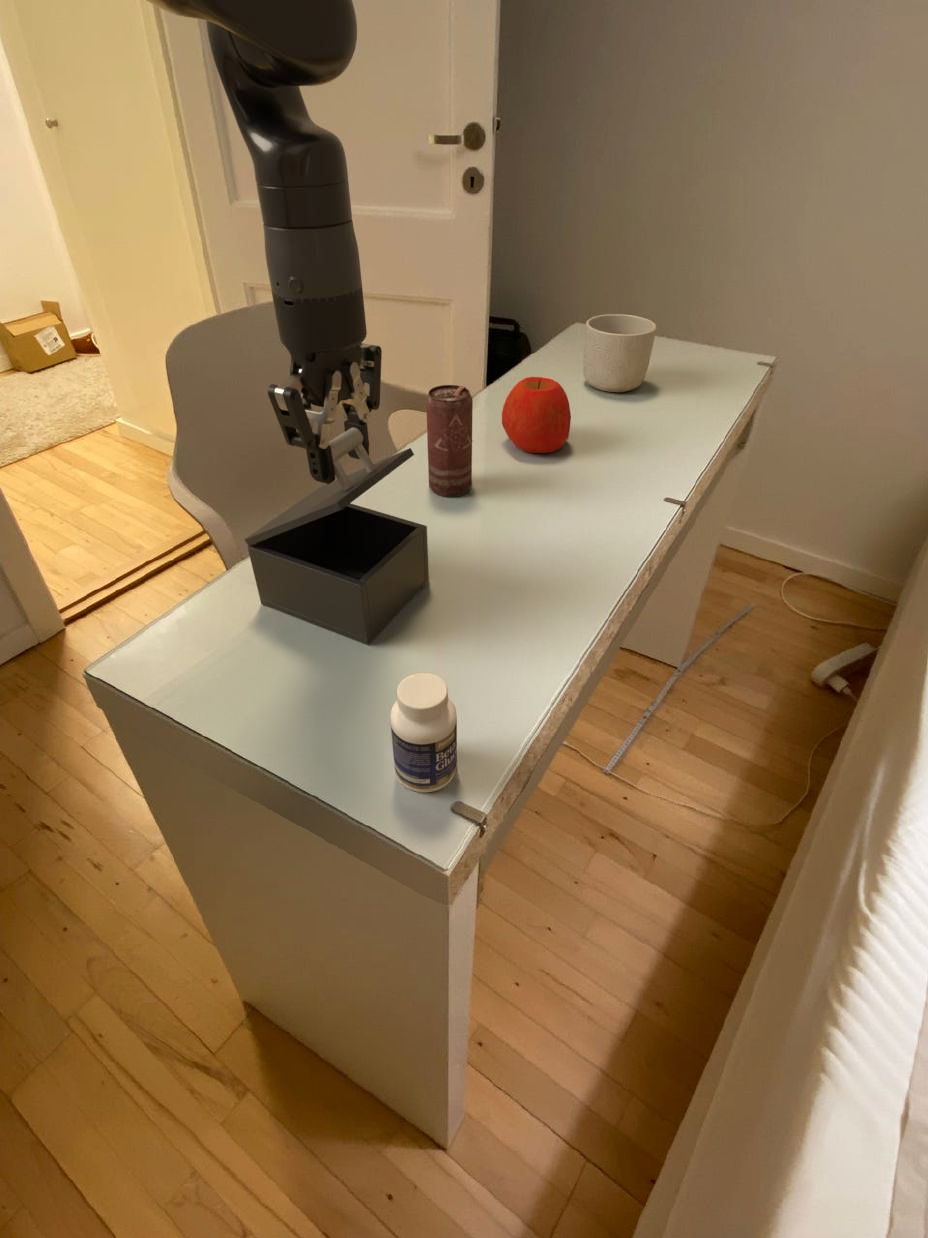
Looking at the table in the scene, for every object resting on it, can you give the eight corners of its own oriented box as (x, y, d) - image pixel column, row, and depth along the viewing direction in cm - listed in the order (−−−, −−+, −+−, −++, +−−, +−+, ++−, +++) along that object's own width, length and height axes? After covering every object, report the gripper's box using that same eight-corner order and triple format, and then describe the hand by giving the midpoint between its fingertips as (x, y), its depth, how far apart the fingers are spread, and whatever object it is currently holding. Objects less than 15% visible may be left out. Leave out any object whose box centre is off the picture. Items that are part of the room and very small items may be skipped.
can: (480, 483, 98) (482, 388, 90) (456, 502, 94) (456, 404, 85) (445, 472, 101) (443, 379, 92) (420, 490, 97) (416, 394, 88)
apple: (487, 442, 109) (488, 376, 102) (536, 424, 114) (540, 360, 108) (533, 466, 103) (538, 397, 96) (583, 446, 108) (591, 379, 101)
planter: (657, 394, 125) (669, 332, 118) (593, 399, 122) (601, 337, 115) (629, 370, 134) (638, 311, 127) (570, 375, 132) (576, 316, 125)
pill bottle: (445, 801, 57) (443, 722, 50) (385, 786, 58) (376, 707, 52) (464, 752, 61) (465, 673, 54) (408, 738, 62) (402, 660, 55)
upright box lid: (414, 454, 70) (388, 406, 68) (341, 509, 62) (309, 456, 60) (321, 493, 80) (297, 452, 78) (248, 546, 72) (218, 501, 70)
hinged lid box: (429, 582, 80) (426, 525, 75) (367, 645, 71) (361, 586, 66) (328, 549, 85) (320, 494, 80) (260, 604, 77) (246, 546, 72)
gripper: (332, 261, 63) (353, 434, 74) (221, 298, 53) (264, 491, 64) (401, 269, 60) (412, 448, 71) (296, 309, 51) (328, 510, 61)
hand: (341, 468), depth 67 cm, fingers closed on upright box lid, 5 cm apart
